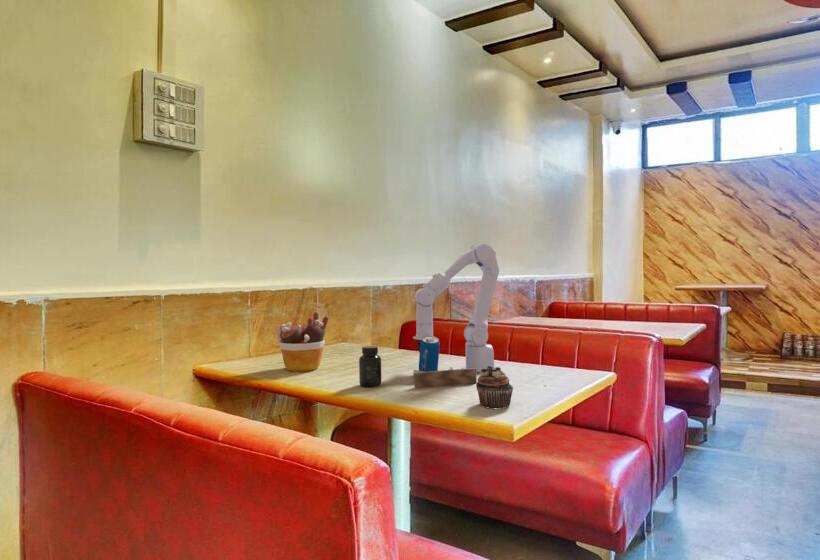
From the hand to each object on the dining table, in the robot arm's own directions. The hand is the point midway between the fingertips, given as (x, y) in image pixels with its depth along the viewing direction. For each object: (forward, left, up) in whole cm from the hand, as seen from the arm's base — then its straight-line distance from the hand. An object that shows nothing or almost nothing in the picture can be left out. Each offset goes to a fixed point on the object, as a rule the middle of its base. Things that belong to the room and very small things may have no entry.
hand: (425, 363), depth 187 cm
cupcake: (-4, +46, -4) cm, 47 cm away
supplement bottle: (+22, +12, -4) cm, 25 cm away
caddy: (0, +14, -3) cm, 15 cm away
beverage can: (0, +3, -3) cm, 4 cm away
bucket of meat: (+39, -23, -4) cm, 45 cm away
